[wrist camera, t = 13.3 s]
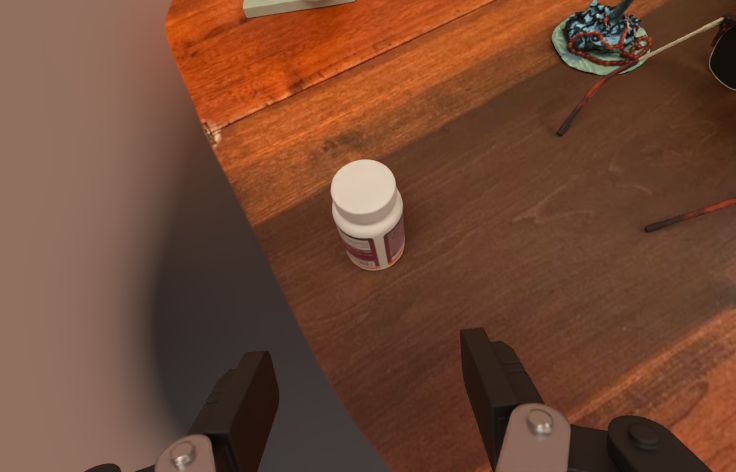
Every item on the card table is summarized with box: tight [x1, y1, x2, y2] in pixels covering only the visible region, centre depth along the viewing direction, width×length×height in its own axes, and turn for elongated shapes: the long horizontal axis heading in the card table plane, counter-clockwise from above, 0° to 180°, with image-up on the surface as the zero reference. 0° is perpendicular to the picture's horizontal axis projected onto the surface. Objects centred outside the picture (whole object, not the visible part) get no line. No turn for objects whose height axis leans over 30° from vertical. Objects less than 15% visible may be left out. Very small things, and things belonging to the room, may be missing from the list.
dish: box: [552, 0, 652, 75], centre depth 38 cm, size 8×7×8 cm
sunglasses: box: [557, 13, 736, 232], centre depth 31 cm, size 14×16×5 cm
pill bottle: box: [331, 160, 405, 271], centre depth 27 cm, size 5×5×8 cm
